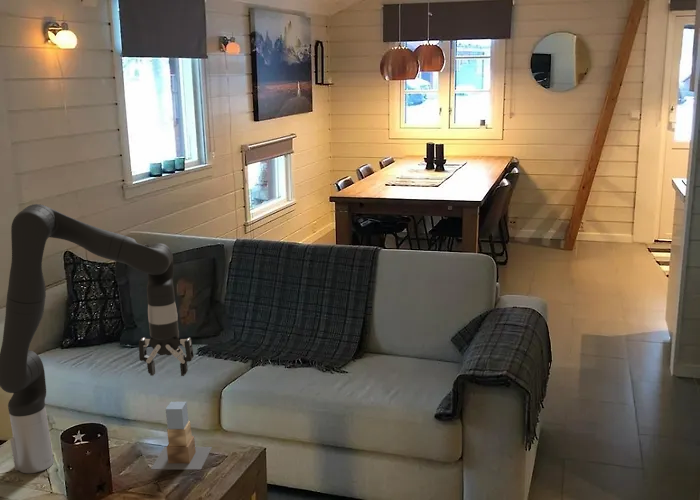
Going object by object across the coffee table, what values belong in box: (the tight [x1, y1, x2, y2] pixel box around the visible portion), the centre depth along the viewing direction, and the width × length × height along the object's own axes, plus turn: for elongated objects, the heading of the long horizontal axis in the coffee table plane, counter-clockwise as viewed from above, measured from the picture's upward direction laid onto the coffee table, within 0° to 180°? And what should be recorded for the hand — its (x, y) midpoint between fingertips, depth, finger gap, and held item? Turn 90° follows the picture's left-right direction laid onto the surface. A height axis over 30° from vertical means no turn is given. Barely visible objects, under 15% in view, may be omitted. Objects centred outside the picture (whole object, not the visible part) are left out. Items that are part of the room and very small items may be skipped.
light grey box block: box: [165, 401, 189, 429], centre depth 205 cm, size 4×4×6 cm
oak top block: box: [167, 420, 193, 446], centre depth 206 cm, size 5×5×5 cm
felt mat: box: [150, 446, 213, 471], centre depth 208 cm, size 14×12×1 cm
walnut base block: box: [166, 435, 196, 463], centre depth 208 cm, size 6×6×5 cm
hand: (168, 374), depth 203 cm, fingers open, 8 cm apart
